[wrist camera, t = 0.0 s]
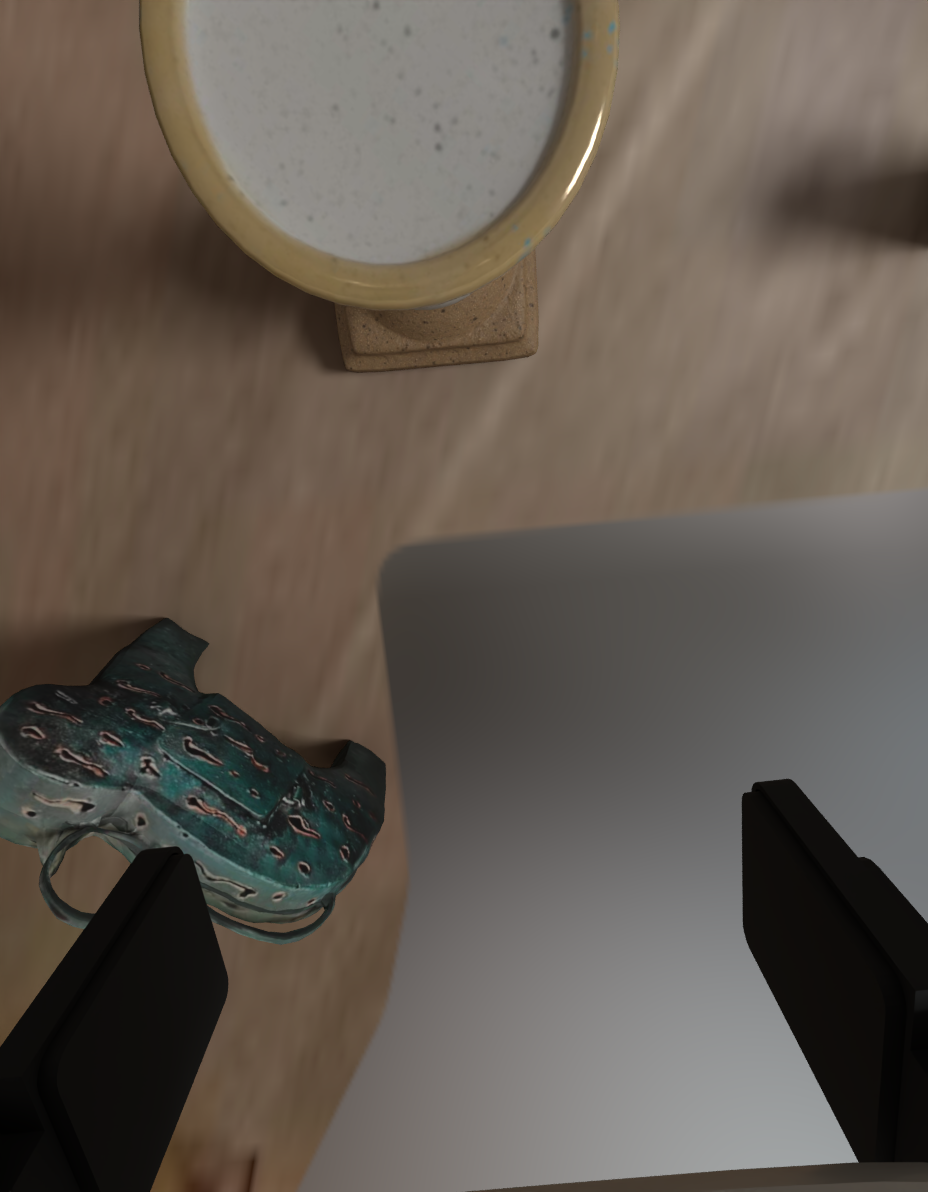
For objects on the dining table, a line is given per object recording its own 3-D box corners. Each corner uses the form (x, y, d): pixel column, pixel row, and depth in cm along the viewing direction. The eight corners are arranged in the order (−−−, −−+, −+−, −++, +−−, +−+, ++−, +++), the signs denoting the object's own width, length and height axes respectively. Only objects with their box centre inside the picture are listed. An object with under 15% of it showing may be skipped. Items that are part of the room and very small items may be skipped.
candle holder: (320, 158, 35) (51, -277, 12) (526, 137, 35) (641, -348, 12) (348, 374, 38) (176, 347, 16) (537, 357, 38) (644, 303, 15)
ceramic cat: (110, 652, 44) (-168, 855, 24) (160, 576, 42) (-96, 730, 23) (359, 810, 47) (286, 1097, 28) (412, 746, 46) (374, 1002, 26)
